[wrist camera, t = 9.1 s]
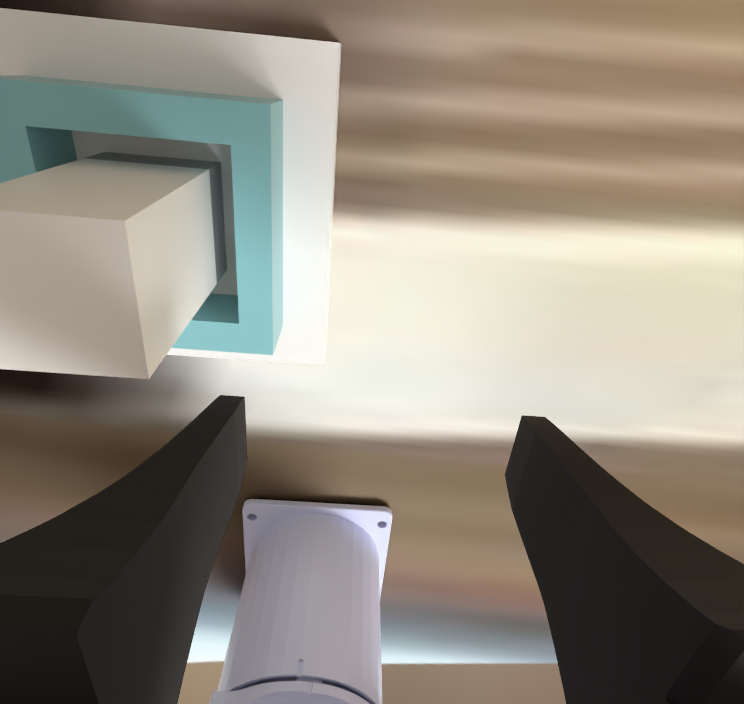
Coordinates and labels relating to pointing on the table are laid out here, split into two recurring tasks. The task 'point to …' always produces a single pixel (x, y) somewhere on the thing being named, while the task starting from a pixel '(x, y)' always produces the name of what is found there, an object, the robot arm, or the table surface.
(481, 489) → the table surface
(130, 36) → the port
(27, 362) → the plug
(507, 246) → the table surface
